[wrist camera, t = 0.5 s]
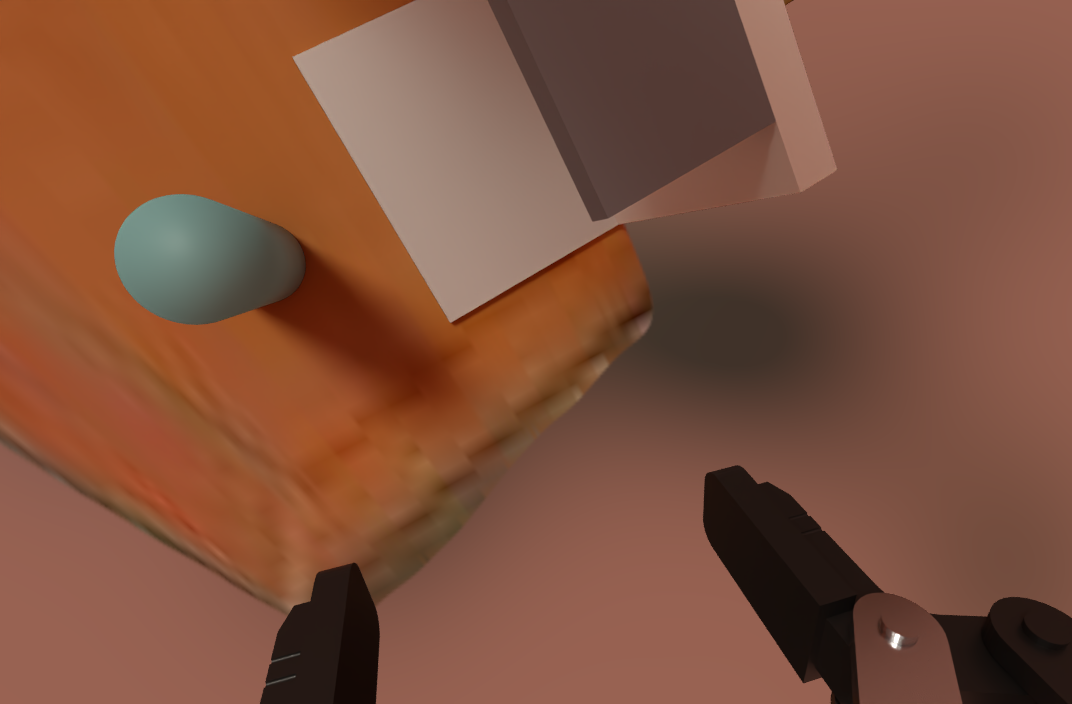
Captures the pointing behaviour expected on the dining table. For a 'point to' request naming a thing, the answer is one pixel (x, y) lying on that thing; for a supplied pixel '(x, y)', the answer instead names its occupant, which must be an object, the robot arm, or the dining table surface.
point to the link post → (204, 259)
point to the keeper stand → (563, 123)
